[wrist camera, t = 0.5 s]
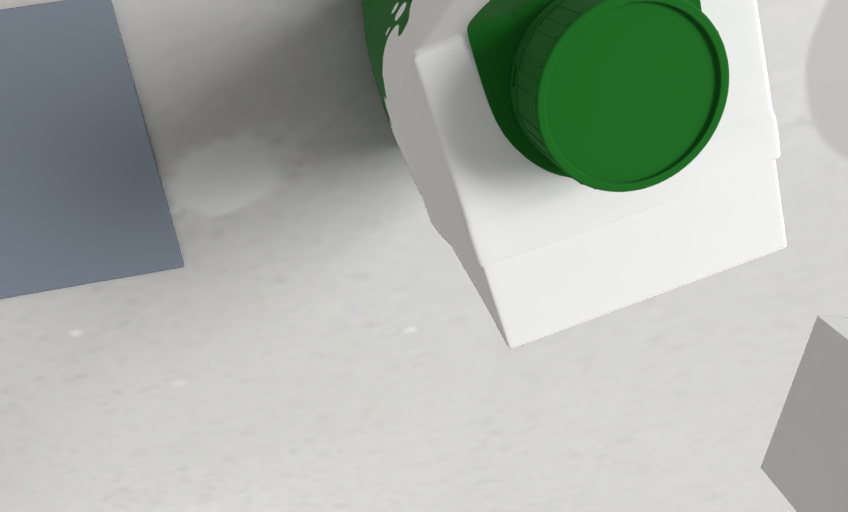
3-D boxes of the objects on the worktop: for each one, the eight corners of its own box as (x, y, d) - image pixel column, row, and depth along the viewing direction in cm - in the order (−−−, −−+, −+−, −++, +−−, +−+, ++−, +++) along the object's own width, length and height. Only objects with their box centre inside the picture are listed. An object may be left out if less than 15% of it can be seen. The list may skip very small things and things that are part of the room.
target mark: (-209, 39, 30) (-212, 40, 30) (109, -6, 32) (108, -6, 31) (-87, 312, 35) (-89, 314, 35) (184, 265, 37) (183, 267, 36)
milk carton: (532, -100, 33) (834, -109, 15) (581, 105, 36) (870, 301, 18) (331, -27, 33) (383, 57, 14) (402, 171, 36) (513, 433, 18)
